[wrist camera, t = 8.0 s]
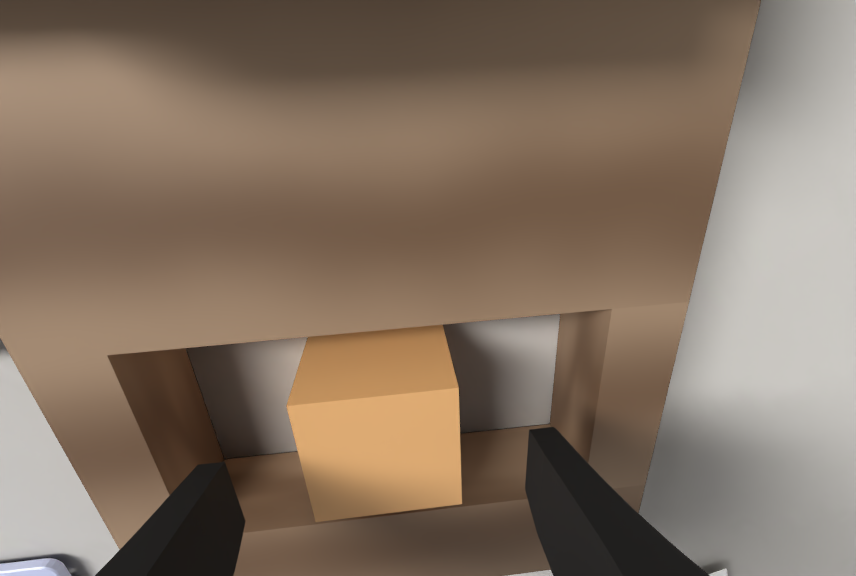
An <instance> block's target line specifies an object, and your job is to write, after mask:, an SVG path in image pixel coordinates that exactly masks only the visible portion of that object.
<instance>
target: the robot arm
mask: <svg viewBox="0 0 856 576" xmlns="http://www.w3.org/2000/svg"><path fill="white" fill-rule="evenodd" d="M525 491H526V495H527V498H528V502H529V506H530V510H531V513H532V517H533V520H534V524H535V528H536V531H537V534H538V537H539V539H540V542H541V545H542V547H543V550H544V553H545V555H546V558H547V560H548V563H549V565H550V568H551V571H552V573H553V576H710V575H708V574H707V573H706V572H705V571H703V570H702V569H701V568H700V567H699V566H697V565H696V564H695V563H694V562H692V561H691V560H690V559H689V558H688V557H687V556H685V555H684V554H683V553H682V552H681V551H679V550H678V549H677V548H676V547H675V546H674V545H673V544H671V543H670V542H669V541H668V540H667V539H666V538H665V537H664V536H662V535H661V534H660V533H659V532H658V531H657V530H656V529H655V528H654V527H652V526H651V525H650V524H649V523H648V522H647V521H646V520H645V519H644V518H643V517H642V516H641V515H639V514H638V513H637V512H636V511H635V510H634V509H633V508H632V507H631V506H630V505H629V504H628V503H627V502H626V501H625V500H624V499H623V498H622V497H621V496H620V495H619V494H618V493H617V492H616V491H615V490H614V489H613V488H612V487H611V486H610V485H609V484H608V483H607V482H606V481H605V480H604V479H603V478H602V477H601V476H600V475H599V474H598V473H597V472H596V471H595V470H594V469H593V468H592V467H591V466H590V465H589V464H588V463H587V462H586V461H585V459H584V458H583V457H582V456H581V455H580V454H579V453H578V452H577V451H576V450H575V449H574V448H573V447H572V445H571V444H570V443H569V442H568V441H567V440H566V439H565V438H564V437H563V436H562V434H561V433H560V432H559V431H558V430H557V429H556V428H554V427H547V428H538V429H529V437H528V452H527V466H526V481H525ZM245 522H246V521H245V518H244V515H243V512H242V509H241V506H240V504H239V501H238V498H237V495H236V492H235V489H234V487H233V484H232V481H231V478H230V475H229V472H228V470H227V467H226V464H225V462H218V463H209V464H199V465H197V466H196V467H195V468H194V469H193V470H192V472H191V473H190V474H189V475H188V476H187V477H186V478H185V479H184V480H183V481H182V482H181V484H180V485H179V486H178V487H177V488H176V489H175V490H174V491H173V492H172V493H171V495H170V496H169V497H168V498H167V499H166V500H165V501H164V502H163V503H162V505H161V506H160V507H159V508H158V509H157V510H156V511H155V512H154V513H153V514H152V516H151V517H150V518H149V519H148V520H147V521H146V522H145V523H144V524H143V526H142V527H141V528H140V529H139V530H138V531H137V532H136V533H135V534H134V535H133V536H132V537H131V538H130V539H129V541H128V542H127V543H126V544H125V545H124V546H123V547H122V548H121V549H120V550H119V551H118V552H117V553H116V555H115V556H114V557H113V558H112V559H111V560H110V561H109V562H108V563H107V564H106V565H105V566H104V567H103V568H102V569H101V570H100V571H99V572H98V573H97V574H96V575H95V576H233V575H234V572H235V568H236V564H237V559H238V555H239V551H240V546H241V541H242V536H243V531H244V526H245ZM0 576H72V575H71V574H70V572H69V571H68V569H67V568H66V566H65V565H64V564H63V563H62V562H61V561H59V560H57V559H53V558H45V559H36V560H28V561H20V562H11V563H3V564H0Z"/></svg>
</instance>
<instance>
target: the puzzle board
mask: <svg viewBox="0 0 856 576" xmlns="http://www.w3.org/2000/svg"><path fill="white" fill-rule="evenodd" d="M760 3H761V0H0V338H1V340H2V342H3V344H4V345H5V347H6V349H7V351H8V352H9V354H10V356H11V358H12V360H13V361H14V363H15V365H16V367H17V368H18V370H19V372H20V374H21V376H22V377H23V379H24V381H25V383H26V384H27V386H28V388H29V390H30V391H31V393H32V395H33V397H34V399H35V400H36V402H37V404H38V406H39V407H40V409H41V411H42V413H43V415H44V416H45V418H46V420H47V422H48V423H49V425H50V427H51V429H52V430H53V432H54V434H55V436H56V438H57V439H58V441H59V443H60V445H61V446H62V448H63V450H64V452H65V454H66V455H67V457H68V459H69V461H70V462H71V464H72V466H73V468H74V469H75V471H76V473H77V475H78V477H79V478H80V480H81V482H82V484H83V485H84V487H85V489H86V491H87V493H88V494H89V496H90V498H91V500H92V501H93V503H94V505H95V507H96V508H97V510H98V512H99V514H100V516H101V517H102V519H103V521H104V523H105V524H106V526H107V528H108V530H109V532H110V533H111V535H112V537H113V539H114V540H115V542H116V544H117V546H118V547H119V549H121V548H122V547H123V546H124V545H125V544H126V543H127V542H128V541H129V539H130V538H131V537H132V536H133V535H134V534H135V533H136V532H137V531H138V530H139V529H140V528H141V527H142V526H143V524H144V523H145V522H146V521H147V520H148V519H149V518H150V517H151V516H152V514H153V513H154V512H155V511H156V510H157V509H158V508H159V507H160V506H161V505H162V503H163V502H164V501H165V500H166V499H167V498H168V497H169V496H170V495H171V493H172V492H173V491H174V490H175V489H176V488H177V487H178V486H179V485H180V484H181V482H182V481H183V480H184V479H185V478H186V477H187V476H188V475H189V474H190V473H191V472H192V470H193V469H194V468H195V467H196V466H197V465H199V464H209V463H218V462H225V464H226V467H227V470H228V472H229V475H230V478H231V481H232V484H233V487H234V489H235V492H236V495H237V498H238V501H239V504H240V506H241V509H242V512H243V515H244V518H245V521H246V522H245V526H244V531H243V536H242V541H241V546H240V551H239V555H238V559H237V564H236V568H235V572H234V575H233V576H505V575H513V574H520V573H528V572H536V571H543V570H551V568H550V565H549V563H548V560H547V558H546V555H545V553H544V550H543V547H542V545H541V542H540V539H539V537H538V534H537V531H536V528H535V524H534V520H533V517H532V513H531V510H530V506H529V502H528V498H527V495H526V491H525V481H526V466H527V452H528V437H529V429H538V428H547V427H554V428H556V429H557V430H558V431H559V432H560V433H561V434H562V436H563V437H564V438H565V439H566V440H567V441H568V442H569V443H570V444H571V445H572V447H573V448H574V449H575V450H576V451H577V452H578V453H579V454H580V455H581V456H582V457H583V458H584V459H585V461H586V462H587V463H588V464H589V465H590V466H591V467H592V468H593V469H594V470H595V471H596V472H597V473H598V474H599V475H600V476H601V477H602V478H603V479H604V480H605V481H606V482H607V483H608V484H609V485H610V486H611V487H612V488H613V489H614V490H615V491H616V492H617V493H618V494H619V495H620V496H621V497H622V498H623V499H624V500H625V501H626V502H627V503H628V504H629V505H630V506H631V507H632V508H633V509H634V510H635V511H636V512H637V513H639V509H640V504H641V500H642V496H643V492H644V488H645V484H646V479H647V475H648V471H649V467H650V463H651V458H652V454H653V450H654V446H655V442H656V438H657V433H658V429H659V425H660V421H661V417H662V412H663V408H664V404H665V400H666V396H667V392H668V387H669V383H670V379H671V375H672V371H673V366H674V362H675V358H676V354H677V350H678V346H679V341H680V337H681V333H682V329H683V325H684V320H685V316H686V312H687V308H688V304H689V300H690V295H691V291H692V287H693V283H694V279H695V274H696V270H697V266H698V262H699V258H700V254H701V249H702V245H703V241H704V237H705V233H706V228H707V224H708V220H709V216H710V212H711V208H712V203H713V199H714V195H715V191H716V187H717V182H718V178H719V174H720V170H721V166H722V162H723V157H724V153H725V149H726V145H727V141H728V136H729V132H730V128H731V124H732V120H733V116H734V111H735V107H736V103H737V99H738V95H739V90H740V86H741V82H742V78H743V74H744V70H745V65H746V61H747V57H748V53H749V49H750V44H751V40H752V36H753V32H754V28H755V24H756V19H757V15H758V11H759V7H760ZM552 314H560V322H559V332H558V343H557V354H556V364H555V375H554V385H553V396H552V406H551V417H550V424H546V425H537V426H528V427H518V428H509V429H500V430H491V431H482V432H472V433H463V434H460V450H461V485H462V504H459V505H451V506H443V507H435V508H426V509H418V510H410V511H402V512H394V513H386V514H378V515H370V516H362V517H353V518H345V519H337V520H329V521H321V522H315V518H314V514H313V510H312V506H311V502H310V498H309V494H308V490H307V486H306V482H305V478H304V474H303V470H302V466H301V462H300V458H299V454H298V452H289V453H280V454H270V455H261V456H252V457H243V458H234V459H224V457H223V454H222V452H221V449H220V446H219V443H218V440H217V437H216V434H215V432H214V429H213V426H212V423H211V420H210V417H209V414H208V412H207V409H206V406H205V403H204V400H203V397H202V394H201V392H200V389H199V386H198V383H197V380H196V377H195V374H194V372H193V369H192V366H191V363H190V360H189V357H188V354H187V352H186V349H185V348H192V347H203V346H214V345H225V344H236V343H247V342H258V341H268V340H279V339H290V338H301V337H312V336H323V335H334V334H345V333H356V332H367V331H377V330H388V329H399V328H410V327H421V326H432V325H443V324H454V323H465V322H476V321H486V320H497V319H508V318H519V317H530V316H541V315H552Z"/></svg>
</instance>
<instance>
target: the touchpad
mask: <svg viewBox="0 0 856 576" xmlns="http://www.w3.org/2000/svg"><path fill="white" fill-rule="evenodd" d="M708 575H710V576H728V574H727V569H726V568H725V569H722V570H719V571H716V572H714V573H711V574H708Z"/></svg>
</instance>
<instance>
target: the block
mask: <svg viewBox="0 0 856 576" xmlns="http://www.w3.org/2000/svg"><path fill="white" fill-rule="evenodd" d="M287 410H288V414H289V418H290V422H291V426H292V430H293V434H294V438H295V442H296V446H297V450H298V454H299V458H300V462H301V466H302V470H303V474H304V478H305V482H306V486H307V490H308V494H309V498H310V502H311V506H312V510H313V514H314V518H315V522H321V521H329V520H337V519H345V518H353V517H362V516H370V515H378V514H386V513H394V512H402V511H410V510H418V509H426V508H435V507H443V506H451V505H459V504H462V485H461V450H460V415H459V387H458V383H457V379H456V375H455V371H454V367H453V363H452V360H451V356H450V352H449V348H448V344H447V340H446V336H445V332H444V328H443V325H432V326H421V327H410V328H399V329H388V330H377V331H367V332H356V333H345V334H334V335H323V336H312V337H308V338H307V341H306V345H305V348H304V351H303V354H302V357H301V361H300V364H299V367H298V370H297V374H296V377H295V380H294V383H293V386H292V390H291V393H290V396H289V399H288V403H287Z"/></svg>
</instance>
